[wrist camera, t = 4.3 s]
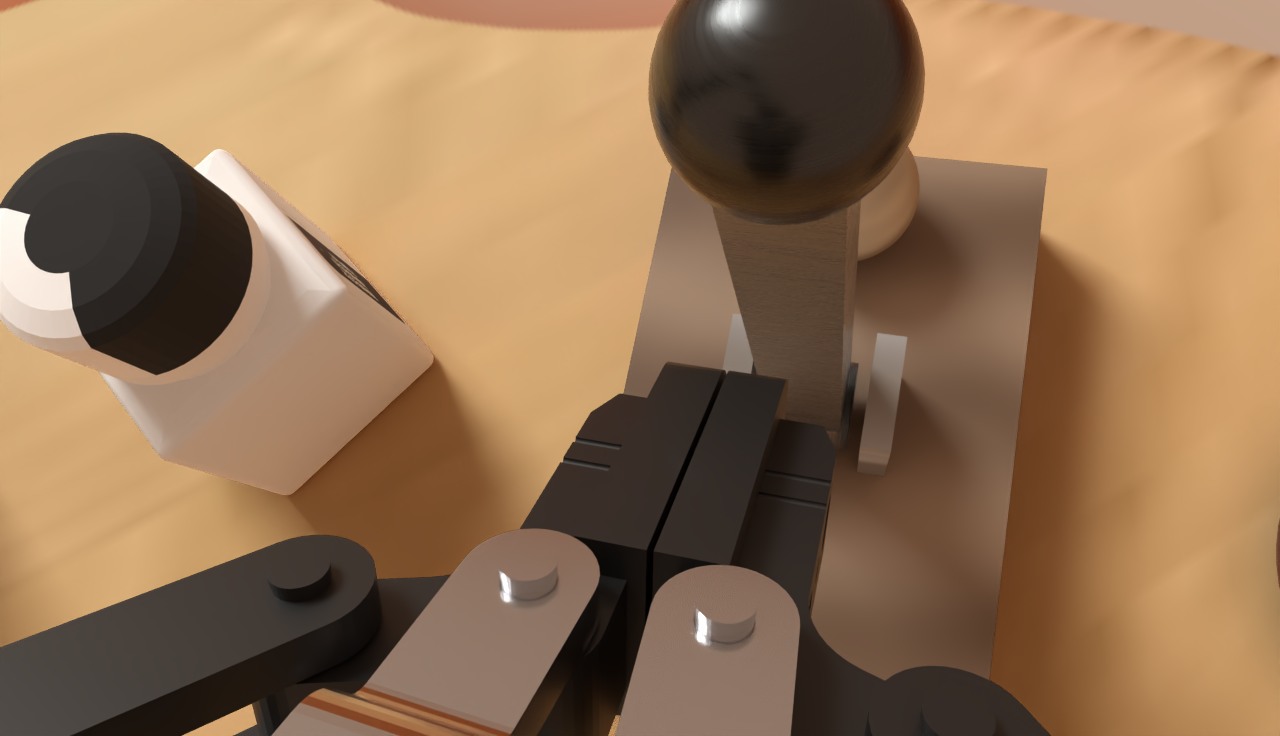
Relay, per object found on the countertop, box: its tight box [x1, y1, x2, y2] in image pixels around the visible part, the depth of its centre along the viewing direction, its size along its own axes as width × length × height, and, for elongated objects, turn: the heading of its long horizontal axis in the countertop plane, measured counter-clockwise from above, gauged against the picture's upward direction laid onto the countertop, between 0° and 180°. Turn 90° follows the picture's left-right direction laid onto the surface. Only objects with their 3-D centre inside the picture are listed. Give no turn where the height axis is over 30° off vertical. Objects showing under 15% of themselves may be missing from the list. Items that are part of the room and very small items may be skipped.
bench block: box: [624, 146, 1047, 680], centre depth 30 cm, size 18×12×8 cm, turn 168°
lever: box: [649, 0, 925, 451], centre depth 21 cm, size 4×4×20 cm
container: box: [0, 133, 434, 495], centre depth 33 cm, size 8×8×13 cm
